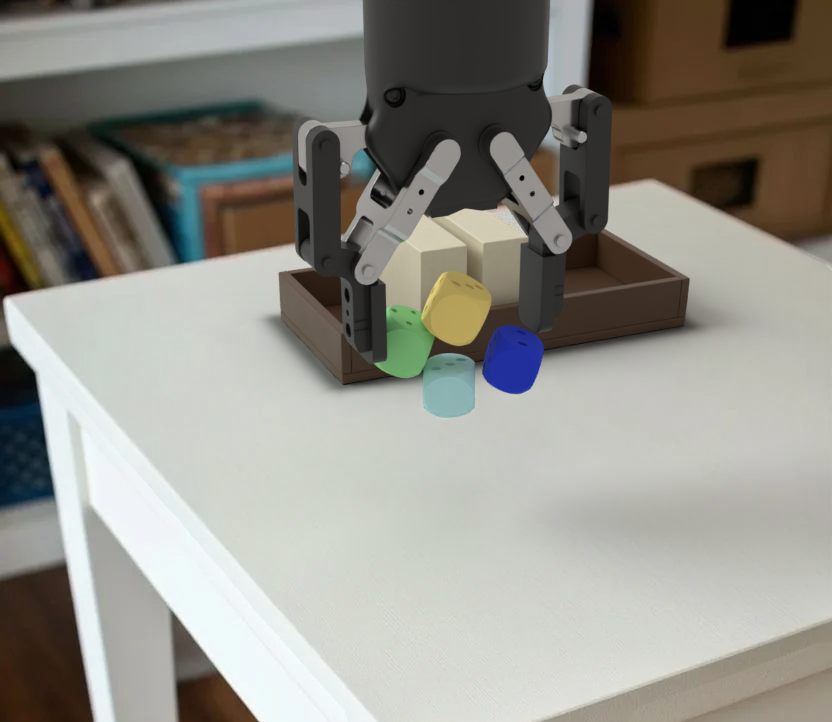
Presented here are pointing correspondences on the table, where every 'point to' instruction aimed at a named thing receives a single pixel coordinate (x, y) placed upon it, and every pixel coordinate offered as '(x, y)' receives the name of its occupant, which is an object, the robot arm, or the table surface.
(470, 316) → the dice
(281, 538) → the table surface
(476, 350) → the tray
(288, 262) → the table surface
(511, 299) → the block
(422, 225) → the block
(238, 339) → the table surface
